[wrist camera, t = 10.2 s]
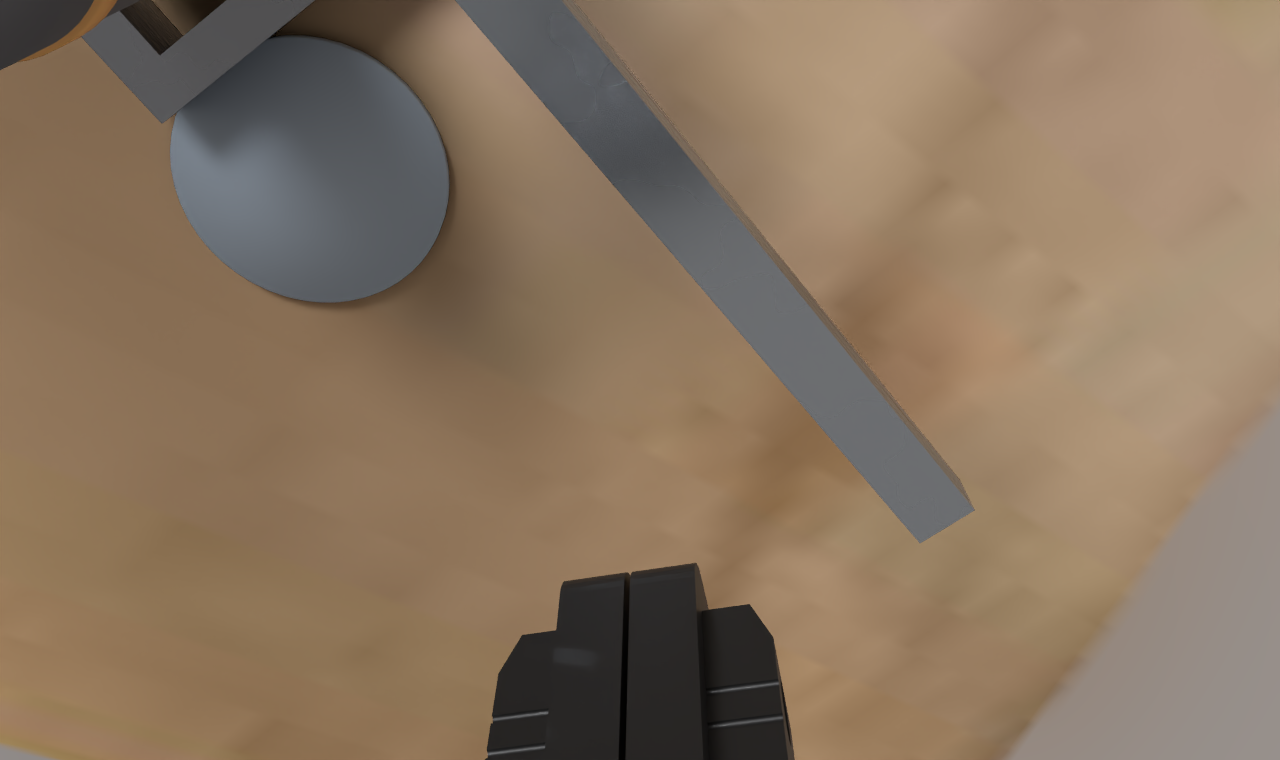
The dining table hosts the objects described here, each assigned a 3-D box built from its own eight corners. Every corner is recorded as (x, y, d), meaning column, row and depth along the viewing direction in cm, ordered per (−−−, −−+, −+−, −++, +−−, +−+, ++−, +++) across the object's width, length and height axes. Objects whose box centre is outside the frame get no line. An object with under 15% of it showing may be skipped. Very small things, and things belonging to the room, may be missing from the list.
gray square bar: (20, -418, 14) (-107, -458, 12) (181, -618, 14) (82, -707, 11) (865, 538, 22) (897, 637, 20) (1005, 452, 21) (1058, 544, 19)
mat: (176, 7, 30) (171, 10, 30) (466, 67, 31) (464, 70, 31) (173, 271, 34) (168, 276, 34) (432, 318, 35) (430, 323, 35)
